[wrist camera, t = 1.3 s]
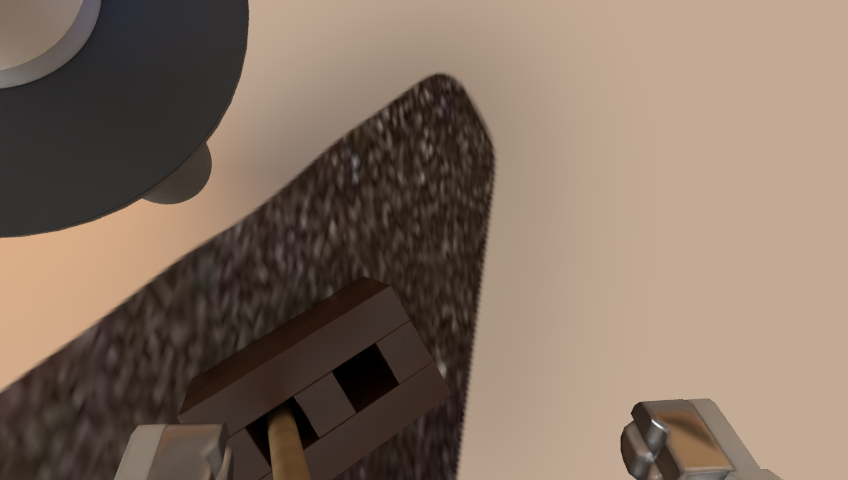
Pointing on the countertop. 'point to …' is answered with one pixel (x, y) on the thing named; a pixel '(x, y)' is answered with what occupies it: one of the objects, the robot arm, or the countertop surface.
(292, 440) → the stirring stick
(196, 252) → the countertop surface
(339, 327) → the utensil block
